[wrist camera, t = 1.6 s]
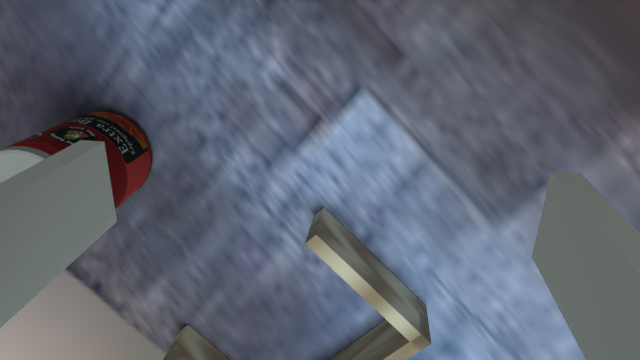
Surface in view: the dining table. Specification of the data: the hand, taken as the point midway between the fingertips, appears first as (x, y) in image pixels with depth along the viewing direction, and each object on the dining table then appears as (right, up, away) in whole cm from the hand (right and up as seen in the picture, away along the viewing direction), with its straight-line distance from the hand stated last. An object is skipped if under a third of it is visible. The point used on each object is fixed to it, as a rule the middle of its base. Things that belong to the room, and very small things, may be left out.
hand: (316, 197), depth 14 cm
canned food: (-18, +3, +28) cm, 33 cm away
